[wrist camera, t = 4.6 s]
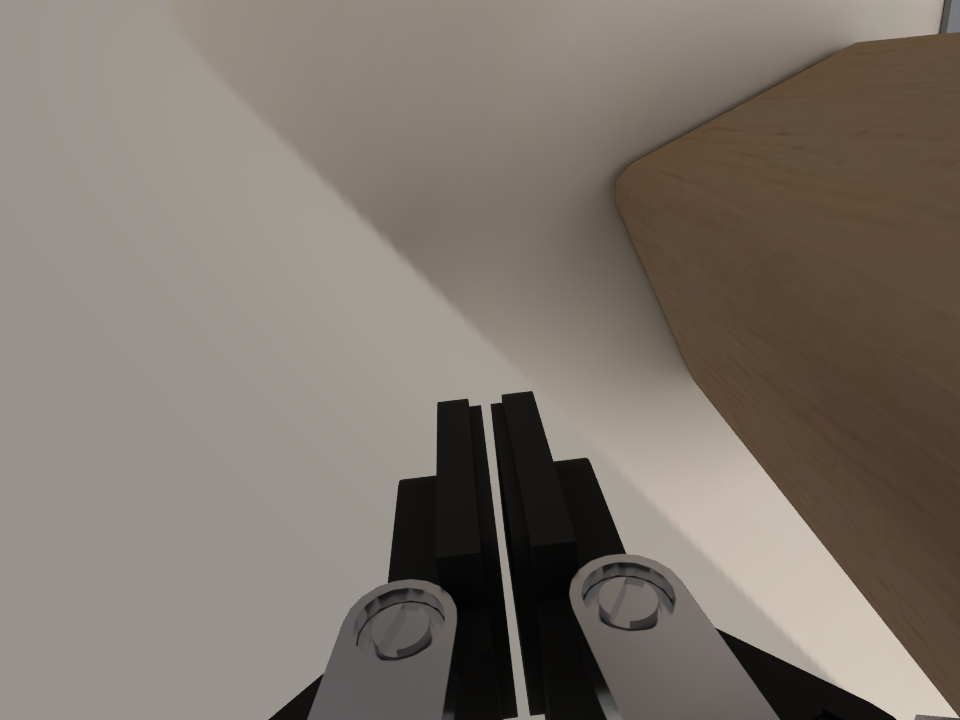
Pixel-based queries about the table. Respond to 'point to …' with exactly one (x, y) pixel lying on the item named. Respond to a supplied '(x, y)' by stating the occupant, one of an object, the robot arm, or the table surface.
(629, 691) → the robot arm
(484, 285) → the table surface
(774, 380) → the wooden block
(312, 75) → the table surface
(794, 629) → the table surface
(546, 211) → the table surface
